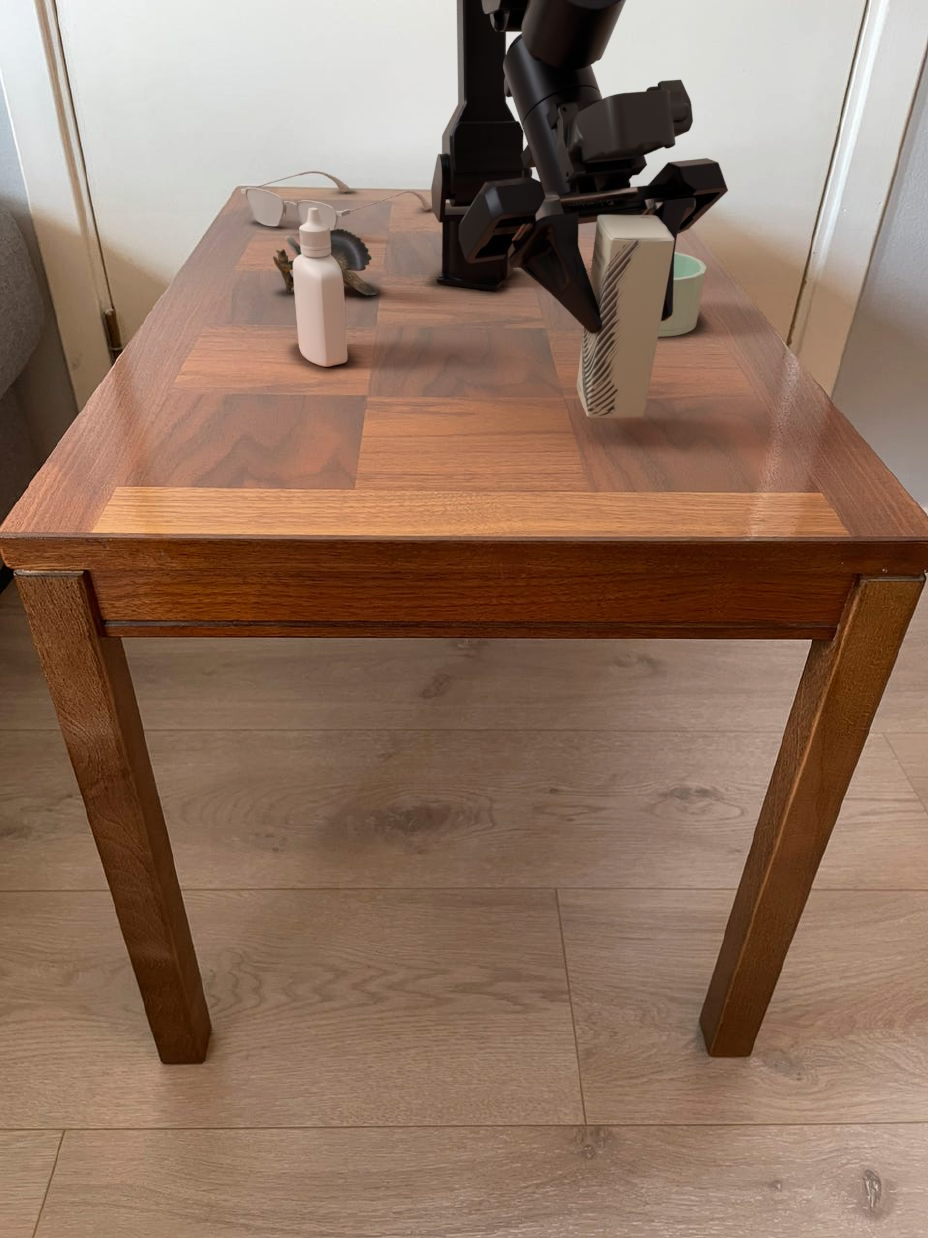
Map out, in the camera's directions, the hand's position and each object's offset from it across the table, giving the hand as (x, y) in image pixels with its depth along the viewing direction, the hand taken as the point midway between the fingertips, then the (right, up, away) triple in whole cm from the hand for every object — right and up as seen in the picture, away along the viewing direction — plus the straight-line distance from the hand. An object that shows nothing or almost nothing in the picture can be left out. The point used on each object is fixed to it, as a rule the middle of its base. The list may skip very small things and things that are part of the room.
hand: (632, 324), depth 67 cm
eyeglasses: (-26, +29, +51) cm, 64 cm away
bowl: (+6, +8, +25) cm, 27 cm away
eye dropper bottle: (-24, +2, +17) cm, 29 cm away
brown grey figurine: (-25, +12, +29) cm, 40 cm away
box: (-1, -5, +5) cm, 7 cm away
